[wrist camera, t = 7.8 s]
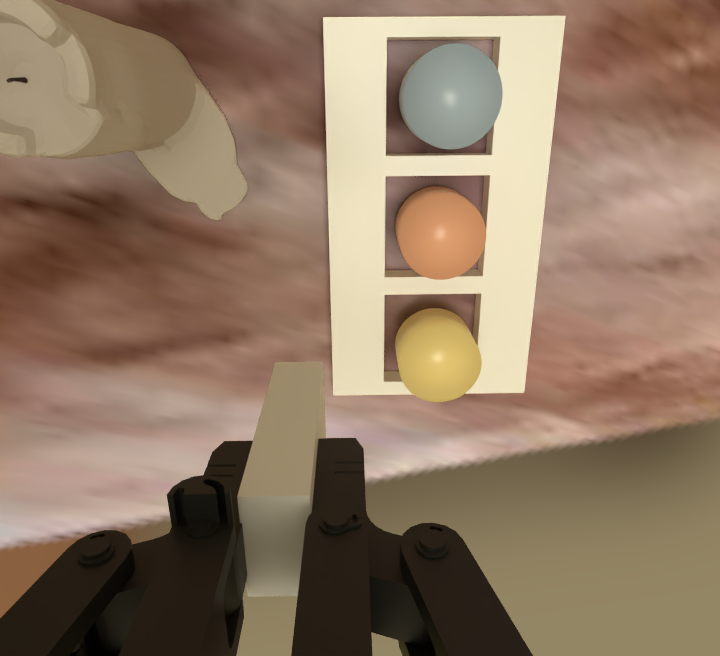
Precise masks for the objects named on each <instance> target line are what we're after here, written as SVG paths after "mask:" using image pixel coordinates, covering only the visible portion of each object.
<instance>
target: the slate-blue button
mask: <svg viewBox="0 0 720 656" xmlns="http://www.w3.org/2000/svg"><path fill="white" fill-rule="evenodd" d="M502 96H503V90H502V82H501V78H500V75H499V72H498V70H497V68H496V66H495V64H494V63H493V62H492V60H491V59H490V58H489V57H488V56H487V55H486V54H485V53H483V52H482V51H481V50H479V49H477V48H475V47H473V46H470V45H467V44H461V43H452V44H446V45H442V46H439V47H437V48H435V49H433V50H431V51H429V52H428V53H426V54H425V55H423V56H422V57H420V58H419V59H417V60H416V61H415V62H414V63H413V64H412V66H411V67H410V68H409V69H408V71H407V72H406V74H405V76H404V78H403V81H402V84H401V87H400V92H399V106H400V112H401V115H402V118H403V120H404V122H405V124H406V126H407V127H408V128H409V130H410V131H411V132H412V133H413V134H414V135H415V136H417V137H418V138H419V139H421V140H423V141H425V142H427V143H429V144H430V145H432V146H435V147H438V148H442V149H459V148H463V147H466V146H469V145H471V144H473V143H475V142H477V141H478V140H479V139H481V138H482V137H483V136H484V135H485V134H486V133H487V132H488V131H489V130H490V129H491V127H492V126H493V124H494V123H495V121H496V119H497V117H498V114H499V112H500V108H501V105H502Z"/></svg>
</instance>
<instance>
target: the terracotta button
mask: <svg viewBox="0 0 720 656" xmlns="http://www.w3.org/2000/svg"><path fill="white" fill-rule="evenodd" d="M395 232H396V237H397V240H398V243H399V246H400V249H401V252H402V255H403V257H404V259H405V261H406V262H407V264H408V265H409V266H410V267H411V268H412V269H413V270H414V271H415V272H417V273H418V274H420V275H422V276H424V277H427V278H430V279H435V280H446V279H451V278H454V277H457V276H459V275H462V274H463V273H465V272H466V271H468V270H469V269H470V268H471V267H472V266H473V265H474V264H475V263H476V262H477V261H478V259H479V258H480V256H481V254H482V252H483V249H484V246H485V242H486V227H485V223H484V220H483V218H482V216H481V214H480V212H479V211H478V210H477V208H476V207H475V206H474V205H473V204H472V203H471V202H469V201H468V200H467V199H466V198H465V197H463V196H462V195H461V194H460V193H458V192H457V191H455V190H453V189H450V188H448V187H443V186H431V187H426V188H423V189H420V190H418V191H416V192H415V193H413V194H412V195H411V196H410V197H408V198H407V199H406V201H405V202H404V203H403V204H402V206H401V208H400V210H399V212H398V214H397V218H396V223H395Z"/></svg>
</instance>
